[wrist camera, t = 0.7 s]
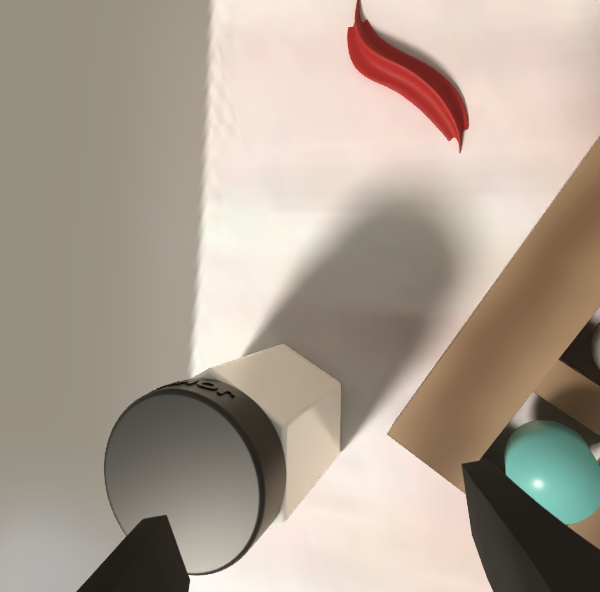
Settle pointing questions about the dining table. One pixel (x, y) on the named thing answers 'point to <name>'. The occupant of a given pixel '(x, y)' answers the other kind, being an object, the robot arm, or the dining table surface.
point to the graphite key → (596, 346)
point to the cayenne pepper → (407, 78)
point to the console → (518, 343)
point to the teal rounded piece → (554, 469)
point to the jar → (225, 453)
